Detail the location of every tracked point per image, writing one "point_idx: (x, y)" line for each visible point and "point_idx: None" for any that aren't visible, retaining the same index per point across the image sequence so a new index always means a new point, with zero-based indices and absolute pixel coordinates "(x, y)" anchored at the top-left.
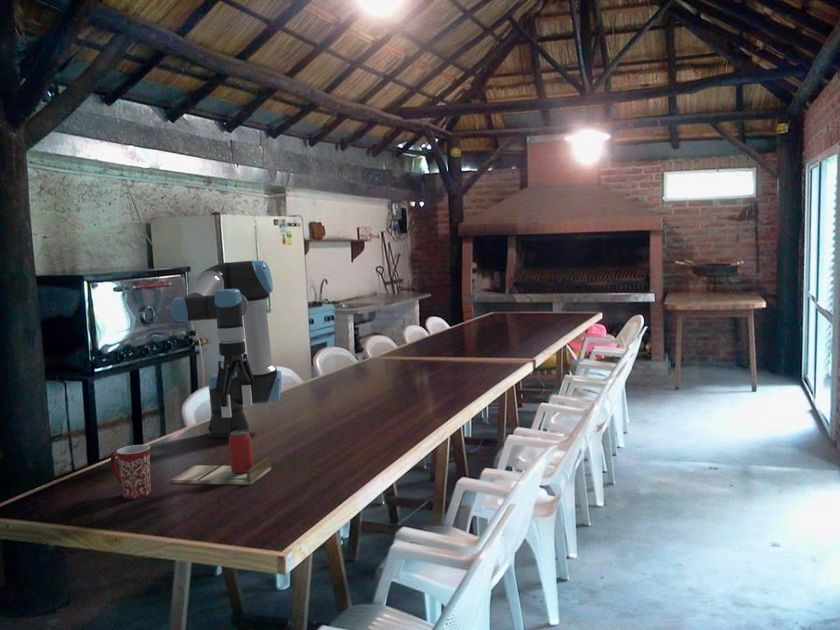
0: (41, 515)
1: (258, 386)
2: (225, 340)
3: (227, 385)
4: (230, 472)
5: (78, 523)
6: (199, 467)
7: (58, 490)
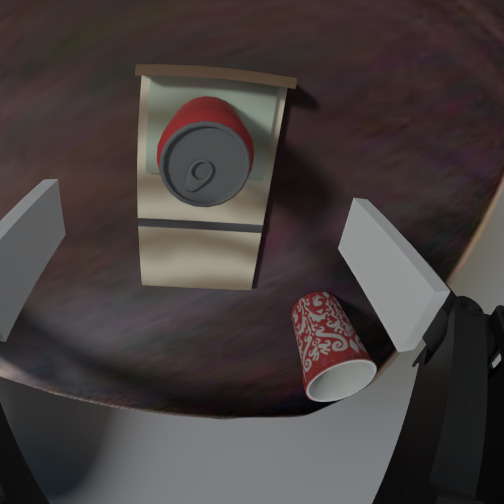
0: None
1: None
2: None
3: (484, 367)
4: None
5: None
6: (156, 268)
7: (266, 403)
